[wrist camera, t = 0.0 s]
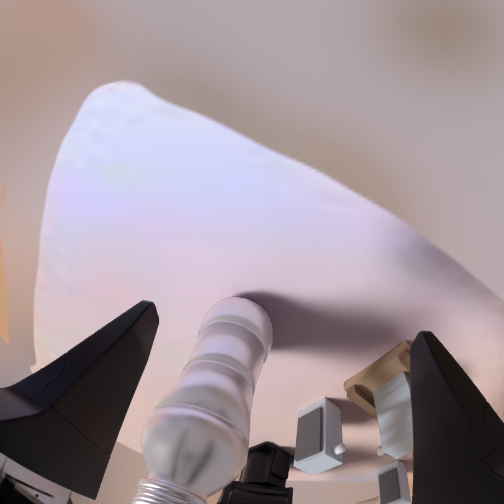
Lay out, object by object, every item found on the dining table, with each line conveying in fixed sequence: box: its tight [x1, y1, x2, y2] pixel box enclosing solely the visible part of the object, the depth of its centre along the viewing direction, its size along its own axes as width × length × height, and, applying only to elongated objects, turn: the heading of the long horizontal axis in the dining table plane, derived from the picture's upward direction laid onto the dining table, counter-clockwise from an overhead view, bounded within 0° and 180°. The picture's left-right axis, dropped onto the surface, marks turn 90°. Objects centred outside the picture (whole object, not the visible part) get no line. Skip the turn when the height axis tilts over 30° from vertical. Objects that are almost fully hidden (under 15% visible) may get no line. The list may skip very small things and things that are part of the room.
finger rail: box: [344, 340, 413, 459], centre depth 24 cm, size 8×32×9 cm, turn 47°
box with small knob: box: [294, 398, 346, 475], centre depth 26 cm, size 3×5×8 cm, turn 137°
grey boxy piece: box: [377, 460, 411, 504], centre depth 30 cm, size 3×5×8 cm, turn 137°
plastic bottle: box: [131, 297, 273, 504], centre depth 18 cm, size 6×7×20 cm
